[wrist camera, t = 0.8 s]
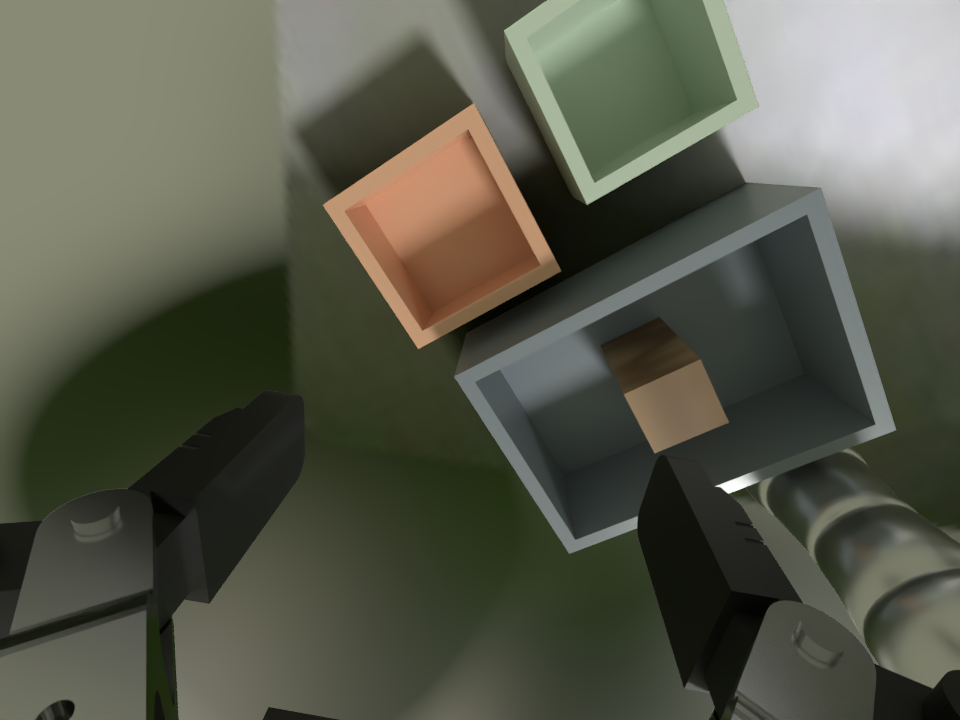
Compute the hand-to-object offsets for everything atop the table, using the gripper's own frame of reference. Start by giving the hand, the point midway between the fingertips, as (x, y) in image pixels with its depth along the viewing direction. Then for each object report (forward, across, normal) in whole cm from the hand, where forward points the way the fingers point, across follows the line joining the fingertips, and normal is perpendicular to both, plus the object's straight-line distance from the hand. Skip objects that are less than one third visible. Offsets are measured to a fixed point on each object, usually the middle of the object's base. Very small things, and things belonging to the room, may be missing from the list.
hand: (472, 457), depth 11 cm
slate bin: (+21, -10, +4) cm, 23 cm away
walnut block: (+20, -10, +4) cm, 23 cm away
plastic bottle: (+21, -21, +10) cm, 31 cm away
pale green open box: (+21, -4, -10) cm, 23 cm away
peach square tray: (+20, +4, -2) cm, 21 cm away
